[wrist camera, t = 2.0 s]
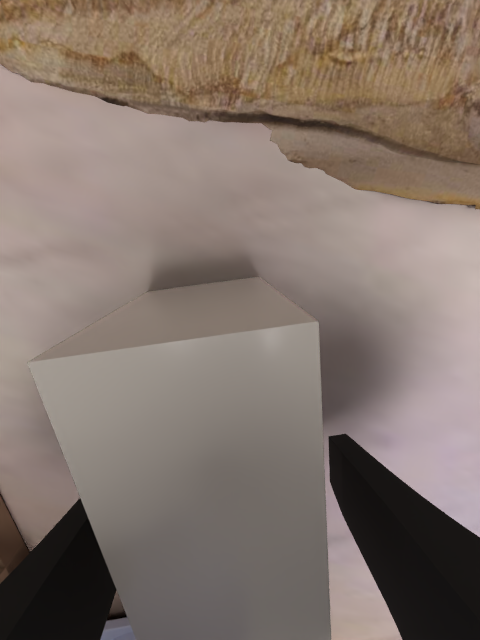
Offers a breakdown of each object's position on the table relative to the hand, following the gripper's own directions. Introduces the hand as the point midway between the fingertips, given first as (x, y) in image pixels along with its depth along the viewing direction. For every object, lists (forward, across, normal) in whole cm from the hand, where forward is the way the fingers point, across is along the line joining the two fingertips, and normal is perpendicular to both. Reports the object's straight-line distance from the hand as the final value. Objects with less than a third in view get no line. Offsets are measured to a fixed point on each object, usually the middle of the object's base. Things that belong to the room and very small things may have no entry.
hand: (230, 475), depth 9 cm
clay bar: (+2, 0, 0) cm, 2 cm away
